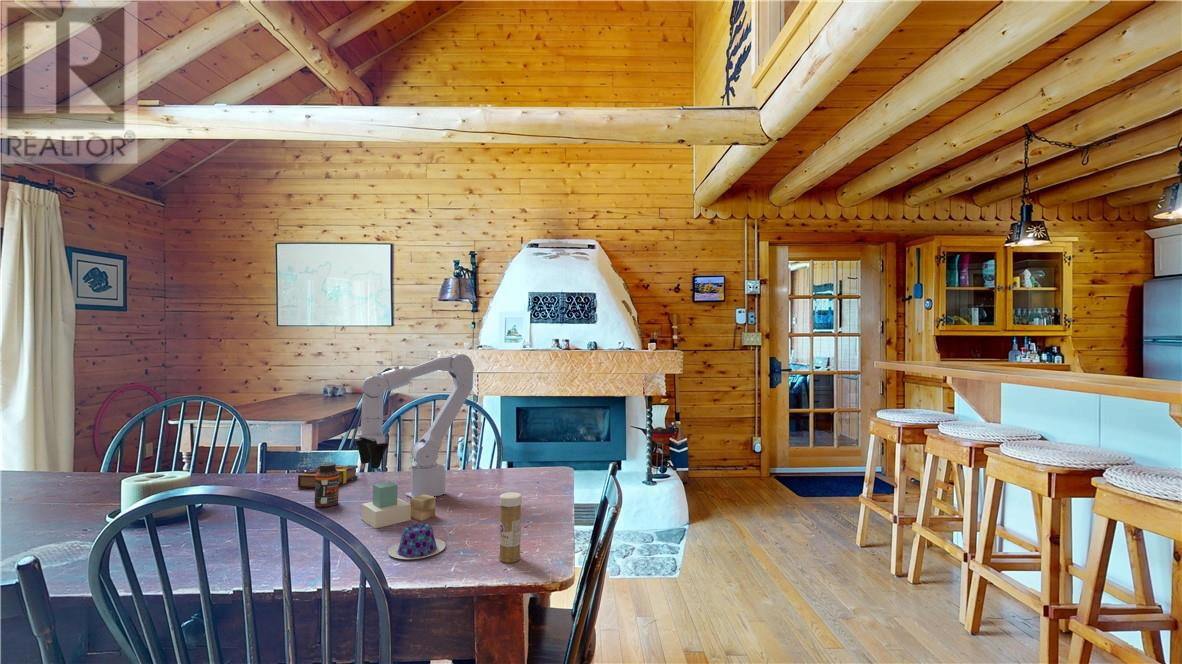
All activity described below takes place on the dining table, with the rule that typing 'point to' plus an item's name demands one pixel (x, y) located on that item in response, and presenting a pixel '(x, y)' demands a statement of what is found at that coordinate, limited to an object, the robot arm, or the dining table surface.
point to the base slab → (386, 514)
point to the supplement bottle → (327, 485)
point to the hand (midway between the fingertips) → (370, 465)
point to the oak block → (422, 507)
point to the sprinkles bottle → (510, 527)
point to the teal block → (385, 494)
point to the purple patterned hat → (416, 543)
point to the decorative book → (310, 476)
